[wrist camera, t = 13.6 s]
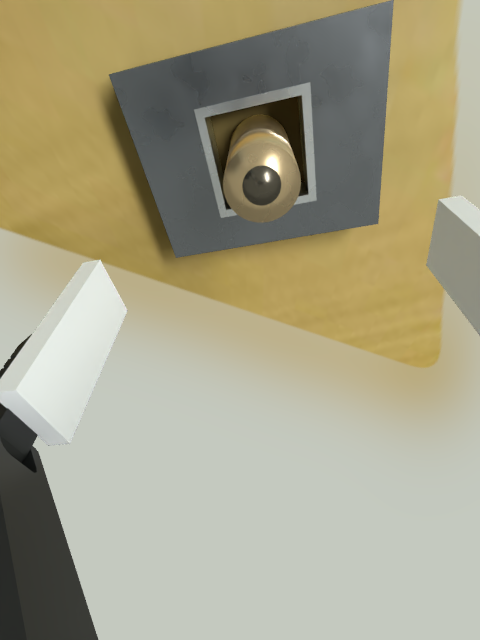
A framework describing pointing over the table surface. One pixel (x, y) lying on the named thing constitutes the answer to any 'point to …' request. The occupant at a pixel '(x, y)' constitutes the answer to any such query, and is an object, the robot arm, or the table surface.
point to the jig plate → (255, 89)
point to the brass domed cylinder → (261, 170)
